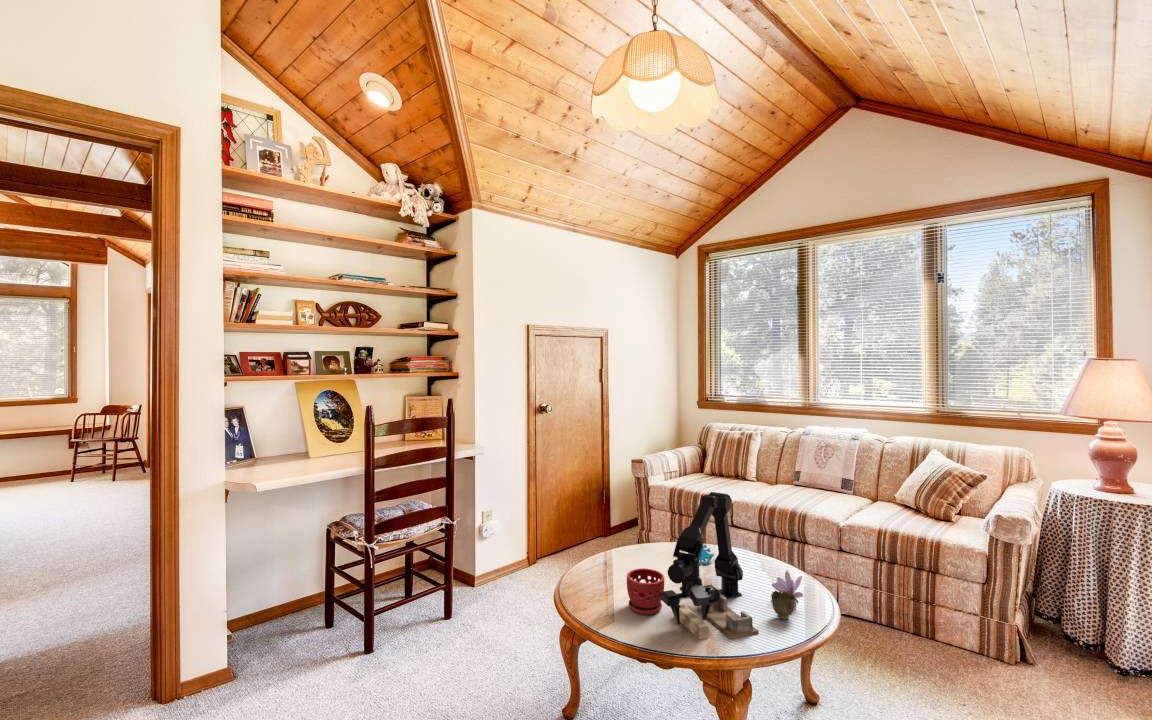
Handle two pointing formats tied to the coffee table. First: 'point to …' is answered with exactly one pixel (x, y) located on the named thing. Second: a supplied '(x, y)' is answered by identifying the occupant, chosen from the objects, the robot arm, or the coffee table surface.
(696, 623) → the birch slat
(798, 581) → the water lily
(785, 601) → the cup
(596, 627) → the coffee table surface
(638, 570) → the plant pot
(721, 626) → the end cap base
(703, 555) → the gear
